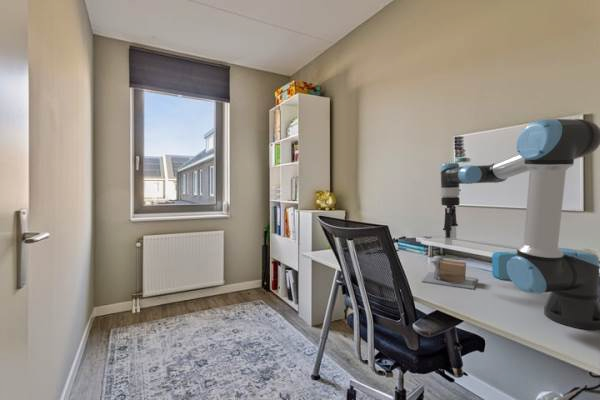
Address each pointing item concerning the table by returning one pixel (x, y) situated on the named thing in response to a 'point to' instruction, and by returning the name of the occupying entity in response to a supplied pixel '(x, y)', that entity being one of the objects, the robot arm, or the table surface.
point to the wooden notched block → (452, 270)
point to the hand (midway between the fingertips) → (450, 242)
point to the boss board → (434, 279)
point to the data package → (501, 264)
